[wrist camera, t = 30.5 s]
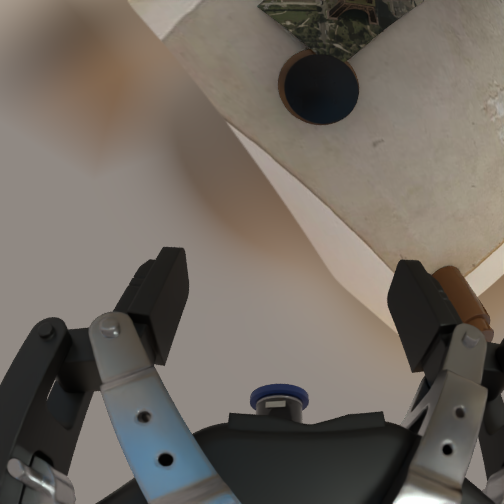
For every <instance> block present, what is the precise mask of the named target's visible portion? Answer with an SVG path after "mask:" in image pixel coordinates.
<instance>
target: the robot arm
mask: <svg viewBox="0 0 504 504" xmlns="http://www.w3.org/2000/svg"><path fill="white" fill-rule="evenodd" d="M188 294H189V279H188V271H187V263H186V254H185V250H184V248H176V247H163V248H162V250H161V251H160V253H159V255H158V256H157V258H156V260H151V259H150V260H148V261H147V262H146V263H144V264H143V265H141V266H140V267H139V269H138V270H137V272H136V273H135V275H134V278H132V280H131V282H130V283H129V286H128V287H127V288H126V290H125V292H124V293H123V295H122V297H121V298H120V300H119V302H118V303H117V305H116V307H115V309H114V310H113V312H108V313H104V314H102V315H101V316H99V317H97V318H96V319H95V320H94V321H93V322H92V323H91V325H90V327H89V328H81V329H70V330H68V329H67V327H66V325H65V323H64V321H63V320H61V319H59V318H55V317H52V318H46V319H44V320H42V321H40V322H39V323H37V324H36V325H35V326H34V327H33V329H32V330H31V332H30V333H29V335H28V337H27V339H26V340H25V341H24V343H23V345H22V347H21V348H20V350H19V352H18V353H17V355H16V357H15V359H14V360H13V362H12V364H11V366H10V368H9V370H8V372H7V373H6V375H5V377H4V379H3V381H2V383H1V385H0V504H75V501H76V498H75V492H74V487H73V485H72V483H71V481H70V480H69V478H68V477H67V475H68V471H69V468H70V464H71V460H72V457H73V453H74V450H75V447H76V443H77V440H78V436H79V434H80V431H81V427H82V424H83V421H84V418H85V415H86V412H87V410H88V407H89V404H90V401H91V398H92V395H93V392H94V391H101V393H102V397H103V400H104V403H105V406H106V408H107V412H108V414H109V417H110V420H111V423H112V425H113V428H114V430H115V433H116V435H117V438H118V440H119V443H120V445H121V448H122V450H123V453H124V455H125V457H126V459H127V462H128V464H129V466H130V468H131V470H132V472H133V474H134V478H133V479H132V480H130V481H129V482H127V483H126V484H125V485H123V486H122V487H120V488H119V489H117V490H116V491H114V492H113V493H111V494H110V495H108V496H107V497H105V498H104V499H103V500H101V501H99V502H98V503H96V504H504V403H503V400H502V397H501V393H502V391H503V390H504V339H503V340H502V342H501V343H500V344H496V343H491V342H487V341H486V338H485V336H484V335H483V333H482V332H481V331H480V330H479V329H478V328H476V327H475V326H473V325H470V324H465V323H463V322H462V320H461V318H460V316H459V315H458V313H457V311H456V309H455V308H454V306H453V304H452V303H451V301H450V300H449V298H448V296H447V294H446V293H445V292H444V290H443V288H442V286H441V285H440V283H439V282H438V281H437V280H436V279H435V278H434V277H433V276H431V275H430V274H429V273H427V271H426V270H425V268H424V267H423V265H422V264H421V262H420V261H418V260H400V261H399V262H398V265H397V268H396V271H395V274H394V277H393V280H392V283H391V286H390V289H389V292H388V297H387V303H388V308H389V310H390V313H391V316H392V318H393V321H394V323H395V326H396V328H397V331H398V334H399V337H400V339H401V342H402V345H403V348H404V350H405V353H406V356H407V359H408V362H409V365H410V367H411V371H412V373H414V372H422V371H424V373H425V376H424V378H423V379H422V381H421V383H420V385H419V388H418V390H417V393H416V395H415V397H414V399H413V402H412V404H411V406H410V408H409V410H408V412H407V414H406V417H405V418H404V420H403V421H402V423H401V424H400V425H397V424H394V423H390V422H385V419H384V414H383V412H382V411H381V412H372V413H360V414H348V415H345V416H341V417H339V418H335V419H331V420H328V421H324V422H320V423H316V424H303V423H302V400H301V399H300V398H298V397H297V396H294V395H291V394H285V393H274V394H268V395H265V396H262V397H260V398H259V399H258V400H257V402H256V415H253V414H239V413H238V414H237V413H229V420H228V423H221V424H217V425H213V426H209V427H207V428H204V429H201V430H200V431H197V432H195V433H193V434H192V433H191V432H190V430H189V428H188V427H187V425H186V423H185V422H184V420H183V418H182V417H181V415H180V413H179V411H178V410H177V408H176V406H175V404H174V402H173V401H172V399H171V397H170V395H169V393H168V391H167V390H166V388H165V386H164V384H163V382H162V380H161V378H160V376H159V374H158V372H157V371H156V369H155V367H154V364H156V365H163V366H165V363H166V360H167V357H168V354H169V351H170V348H171V345H172V342H173V339H174V336H175V333H176V330H177V327H178V324H179V321H180V319H181V316H182V312H183V310H184V307H185V304H186V301H187V298H188ZM54 380H56V381H55V383H54ZM53 383H54V385H53V388H52V390H51V392H50V389H51V387H52V384H53ZM49 392H50V395H49V397H48V399H47V396H48V394H49ZM477 438H479V442H480V446H481V451H482V456H483V460H484V465H485V471H486V476H487V481H488V482H487V485H486V488H485V489H484V490H482V491H481V490H480V489H478V488H477V487H476V486H475V485H474V484H472V483H471V482H470V481H469V480H468V479H467V478H465V475H466V472H467V469H468V467H469V464H470V461H471V458H472V455H473V452H474V448H475V445H476V442H477Z"/></svg>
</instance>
